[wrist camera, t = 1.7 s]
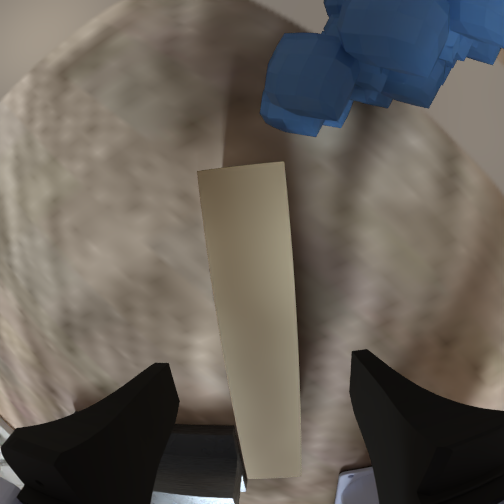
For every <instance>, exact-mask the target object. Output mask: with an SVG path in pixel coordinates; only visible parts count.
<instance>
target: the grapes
mask: <svg viewBox="0 0 504 504" xmlns="http://www.w3.org/2000/svg"><path fill="white" fill-rule="evenodd" d="M324 5H325V8H326V12H327V15H328V16H329V19H328V21H327V23H326V25H325V27H324V31H322V33H321V34H318V33H284V35H283V37H282V38H281V40H280V42H279V43H278V45H277V47H276V49H275V51H274V53H273V55H272V57H271V59H270V61H269V63H268V68H267V74H266V81H265V89H264V91H263V94H262V101H261V109H260V114H261V116H262V117H263V119H264V121H265V123H267V124H269V125H270V126H272V127H274V128H277V129H279V130H281V131H284V132H288V133H294V134H301V135H307V136H313V137H316V136H317V134H318V132H319V130H320V129H321V127H322V125H326V126H332V127H337V128H341V127H342V125H343V124H344V122H345V120H346V118H347V116H348V114H349V111H350V109H351V106H352V104H353V101H359V102H362V103H365V104H369V105H374V106H379V107H384V108H388V107H389V105H390V104H391V102H392V100H393V99H394V100H397V101H400V102H404V103H407V104H411V105H415V106H420V107H424V108H429V107H430V105H431V103H432V101H433V100H434V98H435V96H436V94H437V92H438V90H439V88H440V86H441V85H443V84H444V82H445V80H446V78H447V76H448V74H449V72H450V70H451V68H453V67H454V65H455V63H456V61H457V60H460V61H464V60H465V58H466V57H467V58H471V59H473V60H477V61H480V62H484V63H487V64H490V65H493V64H494V62H495V60H496V58H497V56H498V54H499V52H500V49H501V48H503V49H504V0H324Z"/></svg>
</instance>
